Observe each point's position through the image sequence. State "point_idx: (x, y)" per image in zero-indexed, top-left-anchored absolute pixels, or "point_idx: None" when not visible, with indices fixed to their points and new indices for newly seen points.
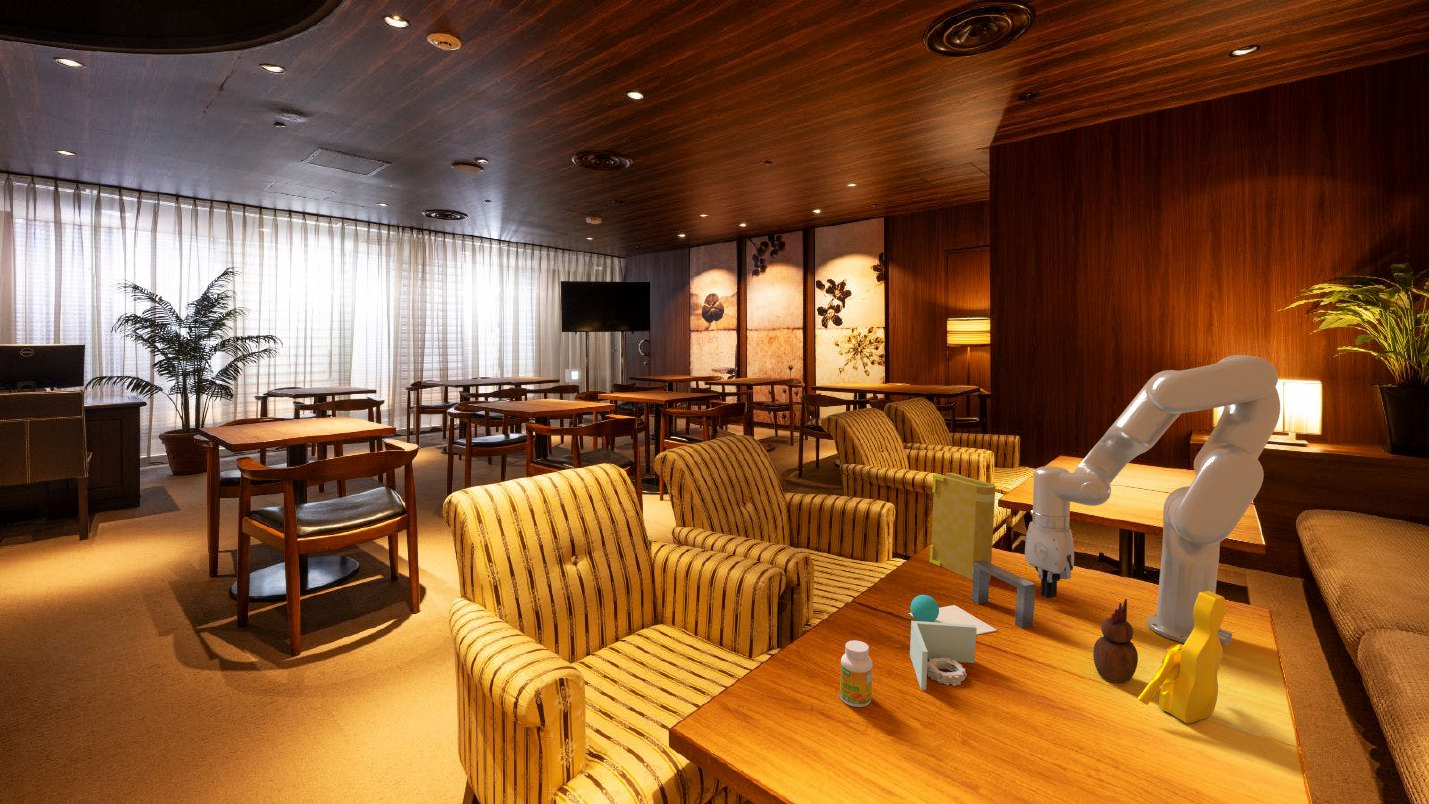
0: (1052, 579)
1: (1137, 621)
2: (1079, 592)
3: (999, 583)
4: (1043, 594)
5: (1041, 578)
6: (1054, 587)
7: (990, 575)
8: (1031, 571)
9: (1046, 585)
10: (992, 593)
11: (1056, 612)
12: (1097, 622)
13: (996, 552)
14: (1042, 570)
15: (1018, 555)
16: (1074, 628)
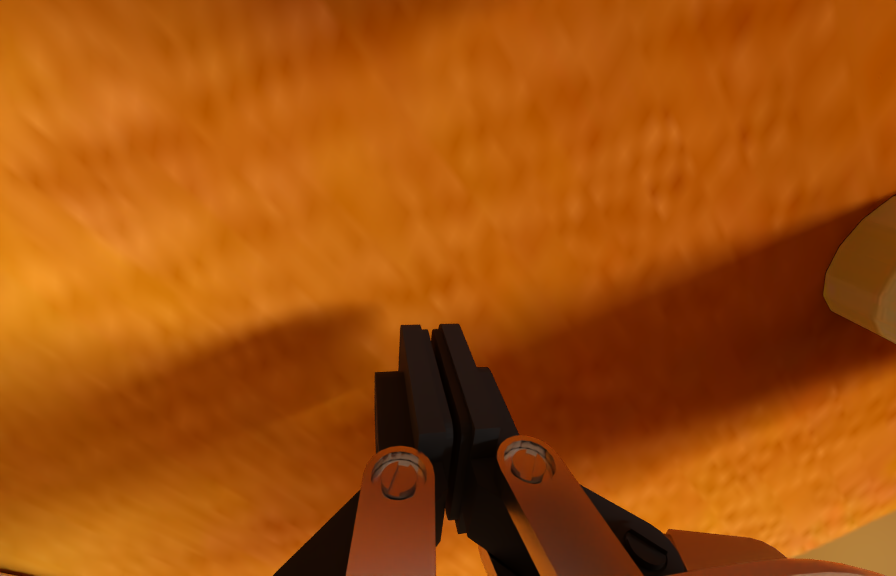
0: (359, 509)
1: (108, 567)
2: (464, 545)
3: (765, 304)
4: (437, 336)
5: (507, 445)
6: (376, 445)
7: (855, 308)
8: (701, 515)
9: (415, 402)
10: (747, 126)
11: (316, 294)
12: (114, 409)
13: (870, 513)
14: (543, 560)
15: (793, 555)
16: (6, 188)
